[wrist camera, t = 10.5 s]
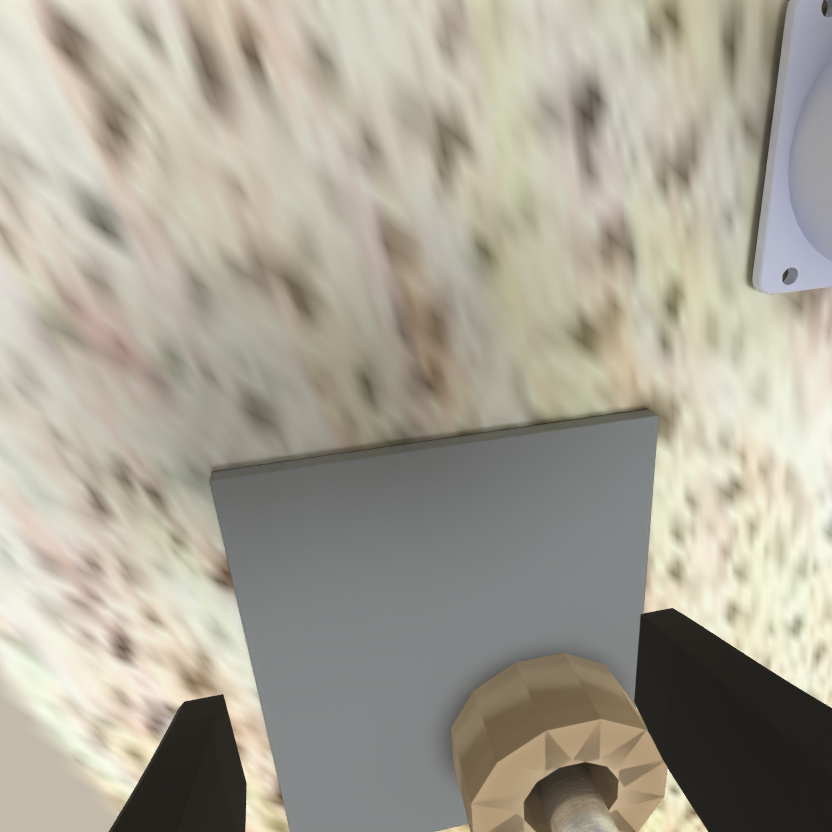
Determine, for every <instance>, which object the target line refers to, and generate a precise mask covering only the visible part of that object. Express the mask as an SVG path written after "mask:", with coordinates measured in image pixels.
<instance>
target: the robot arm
mask: <svg viewBox="0 0 832 832" xmlns="http://www.w3.org/2000/svg"><path fill="white" fill-rule="evenodd" d="M826 2H827V6H828V10H827V12H826V15H825V16H824V15H823V13H822V8H821V6H822V3H823V0H790V1H789V3H788V7H787V10H786V18H785V25H784V33H783V41H782V49H781V57H780V65H779V73H778V81H777V88H776V96H775V104H774V112H773V120H772V128H771V136H770V143H769V151H768V159H767V167H766V175H765V183H764V191H763V198H762V206H761V214H760V222H759V230H758V238H757V246H756V253H755V261H754V269H753V277H752V280H753V286H754V288H755V289H756V290H757V291H759V292H762V293H766V294H777V293H785V292H793V291H802V290H810V289H818V288H826V287H832V0H826ZM787 269H788V276H787V278H786V279H785V280H784V281H782V276H783V273H784V272H785V271H786V270H787ZM634 702H635V705H636V707H637V709H638V711H639V713H640V715H641V717H642V719H643V721H644V723H645V725H646V728H647V730H648V732H649V734H650V736H651V738H652V740H653V742H654V744H655V746H656V747H657V749H658V751H659V753H660V755H661V757H662V759H663V761H664V763H665V764H666V766H667V767H668V769H669V771H670V772H671V774H672V775H673V777H674V779H675V780H676V782H677V783H678V785H679V786H680V788H681V790H682V791H683V793H684V794H685V796H686V798H687V799H688V801H689V802H690V804H691V805H692V807H693V809H694V810H695V812H696V813H697V815H698V816H699V818H700V819H701V821H702V822H703V824H704V826H705V827H706V829H707V830H708V832H832V708H831V707H829V706H827V705H826V704H824V703H822V702H821V701H819V700H817V699H816V698H814V697H812V696H811V695H809V694H807V693H806V692H804V691H802V690H801V689H799V688H797V687H796V686H794V685H793V684H791V683H789V682H788V681H786V680H784V679H783V678H781V677H780V676H778V675H776V674H775V673H773V672H772V671H770V670H769V669H767V668H765V667H764V666H762V665H761V664H759V663H758V662H756V661H754V660H753V659H751V658H750V657H748V656H747V655H745V654H744V653H742V652H741V651H739V650H737V649H736V648H734V647H733V646H731V645H730V644H728V643H727V642H725V641H724V640H722V639H721V638H719V637H717V636H716V635H714V634H713V633H711V632H710V631H708V630H707V629H705V628H704V627H702V626H701V625H699V624H697V623H696V622H694V621H693V620H691V619H690V618H688V617H686V616H685V615H683V614H682V613H680V612H678V611H677V610H675V609H673V608H671V609H665V610H660V611H655V612H650V613H645V614H641V616H640V630H639V643H638V656H637V670H636V683H635V697H634ZM245 822H246V780H245V776H244V772H243V769H242V765H241V761H240V757H239V753H238V749H237V745H236V742H235V738H234V734H233V730H232V726H231V722H230V718H229V715H228V711H227V707H226V703H225V699H224V695H223V694H222V695H217V696H212V697H207V698H201V699H196V700H191V701H186V702H184V703H183V704H182V705H181V706H180V708H179V709H178V711H177V713H176V715H175V716H174V718H173V720H172V722H171V724H170V726H169V728H168V730H167V731H166V733H165V735H164V737H163V739H162V741H161V743H160V744H159V746H158V748H157V750H156V752H155V754H154V755H153V757H152V759H151V761H150V763H149V764H148V766H147V768H146V770H145V771H144V773H143V775H142V777H141V778H140V780H139V782H138V784H137V785H136V787H135V789H134V791H133V792H132V794H131V796H130V797H129V799H128V801H127V802H126V804H125V806H124V807H123V809H122V811H121V812H120V814H119V816H118V817H117V819H116V821H115V822H114V824H113V826H112V827H111V829H110V831H109V832H245Z"/></svg>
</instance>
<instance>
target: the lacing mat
mask: <svg viewBox="0 0 832 832" xmlns="http://www.w3.org/2000/svg"><path fill="white" fill-rule="evenodd" d="M658 418H659V415H657V414H655V413H654V412H652V411H651V410H649V409H646V410H639V411H632V412H625V413H618V414H612V415H605V416H598V417H591V418H584V419H577V420H570V421H563V422H556V423H549V424H542V425H535V426H528V427H521V428H514V429H507V430H500V431H494V432H487V433H480V434H473V435H466V436H459V437H452V438H445V439H438V440H431V441H424V442H417V443H410V444H403V445H396V446H389V447H382V448H376V449H369V450H362V451H355V452H348V453H341V454H334V455H327V456H320V457H313V458H306V459H299V460H292V461H285V462H278V463H271V464H264V465H258V466H251V467H244V468H237V469H230V470H223V471H216V472H212V475H211V478H210V485H211V490H212V494H213V498H214V503H215V507H216V511H217V516H218V520H219V524H220V529H221V533H222V537H223V542H224V546H225V550H226V555H227V559H228V563H229V568H230V572H231V576H232V581H233V585H234V589H235V594H236V598H237V603H238V607H239V611H240V616H241V620H242V624H243V629H244V633H245V637H246V642H247V646H248V650H249V655H250V659H251V663H252V668H253V672H254V676H255V681H256V685H257V689H258V694H259V698H260V702H261V707H262V711H263V715H264V720H265V724H266V728H267V733H268V737H269V741H270V746H271V750H272V754H273V759H274V763H275V767H276V772H277V776H278V780H279V785H280V789H281V793H282V798H283V802H284V807H285V811H286V815H287V820H288V824H289V828H290V832H435V831H440V830H444V829H448V828H453V827H457V826H461V825H466V824H469V822H468V818H467V815H466V811H465V807H464V803H463V799H462V795H461V792H460V788H459V784H458V780H457V776H456V772H455V769H454V765H453V752H452V739H451V727H452V725H453V724H454V722H455V720H456V719H457V717H458V715H459V714H460V712H461V710H462V709H463V707H464V705H465V703H466V702H467V700H468V698H469V697H470V695H471V693H472V692H473V690H475V689H476V688H478V687H479V686H481V685H482V684H484V683H485V682H487V681H488V680H490V679H491V678H493V677H494V676H496V675H497V674H499V673H500V672H502V671H503V670H505V669H506V668H508V667H509V666H511V665H512V664H514V663H515V662H520V661H525V660H530V659H535V658H540V657H545V656H550V655H556V654H561V653H567V654H570V655H574V656H577V657H581V658H585V659H588V660H592V661H595V662H599V663H602V664H605V665H606V667H607V668H608V669H609V671H610V672H611V673H612V674H613V676H614V677H615V678H616V680H617V681H618V682H619V684H620V685H621V686H622V688H623V689H624V690H625V692H626V693H627V694H628V696H629V698H630V699H631V701H632V702H633V704H634V705H635V702H634V697H635V683H636V670H637V656H638V643H639V630H640V616H641V614H643V613H644V600H645V587H646V574H647V561H648V548H649V535H650V522H651V509H652V496H653V483H654V470H655V457H656V444H657V431H658ZM635 707H636V705H635Z"/></svg>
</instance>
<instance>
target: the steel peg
mask: <svg viewBox="0 0 832 832" xmlns="http://www.w3.org/2000/svg"><path fill="white" fill-rule="evenodd" d="M535 788H536V791H537V793H538V796H539V799H540V801H541V804H542V807H543V809H544V812H545V815H546V817H547V820H548V823H549V825H550V828H551V831H552V832H619V831H618V829H617V827H616V825H615V823H614V821H613V818H612V816H611V814H610V812H609V810H608V808H607V806H606V804H605V802H604V800H603V798H602V796H601V793H600V791H599V789H598V787H597V785H596V783H595V781H594V779H593V777H592V775H591V773H590V771H589V769H588V766H587V764H586V762H583V763H578V764H574V765H569V766H565V767H560V768H558V769H557V770H555V771H554V772H552V773H550V774H549V775H547V776H546V777H544V778H543V779H541V780H540V781H538V782H537V783H536V784H535Z"/></svg>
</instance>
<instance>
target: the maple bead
mask: <svg viewBox="0 0 832 832" xmlns="http://www.w3.org/2000/svg"><path fill="white" fill-rule="evenodd" d="M451 739H452V752H453V765H454V769H455V772H456V776H457V780H458V784H459V788H460V792H461V795H462V799H463V803H464V807H465V811H466V815H467V818H468V822H469V826H470V830H471V832H552V831H551V828H550V825H549V823H548V820H547V817H546V815H545V812H544V809H543V807H542V804H541V801H540V799H539V796H538V793H537V791H536V788H535V784H536V783H537V782H538V781H540V780H541V779H543V778H544V777H546V776H547V775H549V774H550V773H552V772H554V771H555V770H557V769H558V768H560V767H565V766H569V765H574V764H578V763H583V762H586V764H587V766H588V769H589V771H590V773H591V775H592V777H593V779H594V781H595V783H596V785H597V787H598V789H599V791H600V793H601V796H602V798H603V800H604V802H605V804H606V806H607V808H608V810H609V812H610V814H611V816H612V818H613V821H614V823H615V825H616V827H617V829H618V831H619V832H638V831H639V830H640V829H641V827H642V826H643V825H644V823H645V822H646V821H647V819H648V818H649V817H650V815H651V814H652V813H653V811H654V810H655V808H656V807H657V806H658V804H659V803H660V802H661V800H662V799H663V798H664V795H665V786H666V776H667V766H666V764H665V763H664V761H663V759H662V757H661V755H660V753H659V751H658V749H657V747H656V746H655V744H654V742H653V740H652V738H651V736H650V734H649V732H648V730H647V728H646V725H645V723H644V721H643V719H642V717H641V715H640V713H639V712H638V710H637V709H636V707H635V705H634V704H633V702H632V701H631V699H630V698H629V696H628V694H627V693H626V692H625V690H624V689H623V688H622V686H621V685H620V684H619V682H618V681H617V680H616V678H615V677H614V676H613V674H612V673H611V672H610V671H609V669H608V668H607V667H606V665H605V664H602V663H599V662H595V661H592V660H588V659H585V658H581V657H577V656H574V655H570V654H567V653H561V654H556V655H550V656H545V657H540V658H535V659H530V660H525V661H520V662H515V663H514V664H512V665H511V666H509V667H508V668H506V669H505V670H503V671H502V672H500V673H499V674H497V675H496V676H494V677H493V678H491V679H490V680H488V681H487V682H485V683H484V684H482V685H481V686H479V687H478V688H476V689H475V690H473V692H472V693H471V695H470V697H469V698H468V700H467V702H466V703H465V705H464V707H463V709H462V710H461V712H460V714H459V715H458V717H457V719H456V720H455V722H454V724H453V725H452V727H451Z"/></svg>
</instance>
